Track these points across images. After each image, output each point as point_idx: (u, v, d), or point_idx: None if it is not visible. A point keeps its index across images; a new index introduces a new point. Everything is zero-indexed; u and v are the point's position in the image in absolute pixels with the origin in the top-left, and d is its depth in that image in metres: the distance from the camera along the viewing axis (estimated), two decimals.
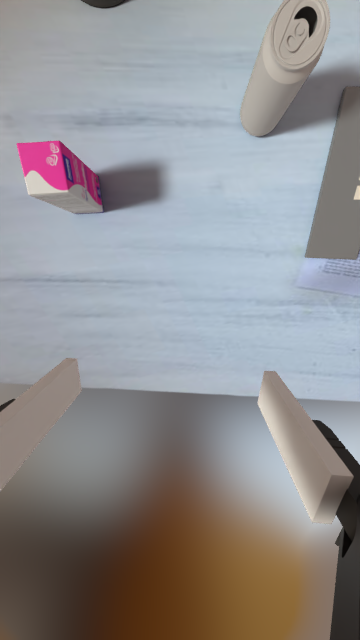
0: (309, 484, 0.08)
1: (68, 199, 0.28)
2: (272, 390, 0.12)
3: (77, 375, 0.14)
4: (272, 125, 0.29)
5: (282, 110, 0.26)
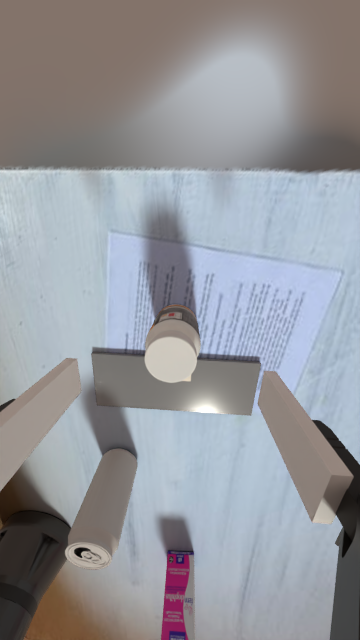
0: (309, 484, 0.08)
1: (194, 627, 0.34)
2: (272, 390, 0.12)
3: (77, 375, 0.14)
4: (132, 470, 0.31)
5: (125, 491, 0.28)
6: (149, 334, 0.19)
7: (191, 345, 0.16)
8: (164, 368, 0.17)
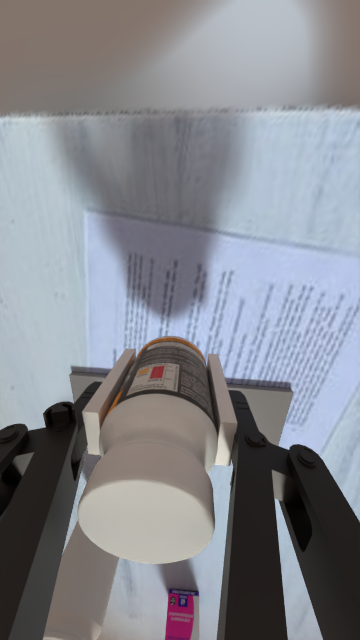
0: None
1: None
2: (209, 368, 0.14)
3: None
4: None
5: None
6: (105, 426, 0.08)
7: (201, 498, 0.06)
8: (130, 539, 0.07)
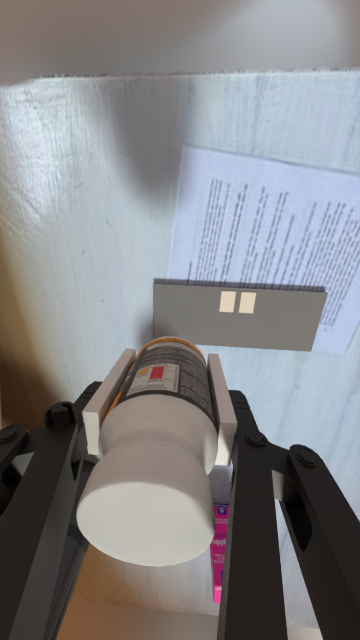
0: None
1: None
2: (209, 368, 0.14)
3: None
4: None
5: None
6: (104, 427, 0.08)
7: (201, 501, 0.06)
8: (129, 541, 0.07)
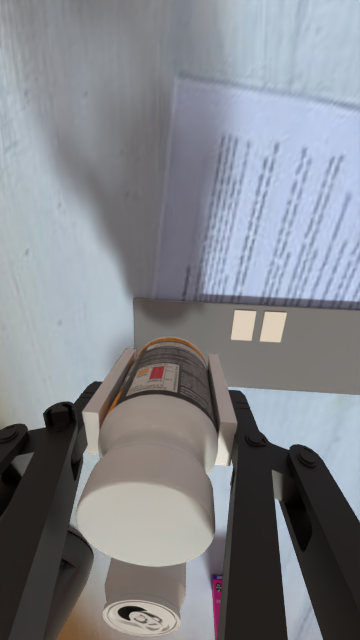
0: None
1: None
2: (209, 368, 0.14)
3: None
4: None
5: None
6: (104, 427, 0.08)
7: (201, 501, 0.06)
8: (129, 542, 0.07)
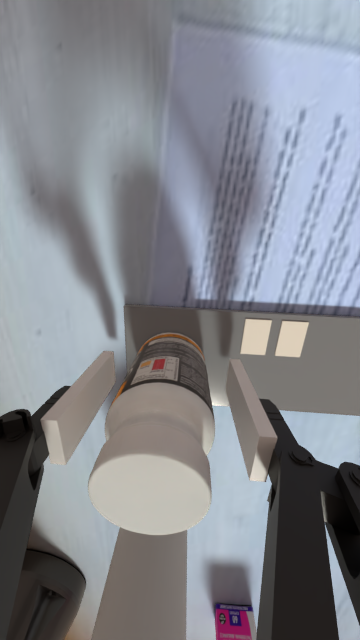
0: (249, 449, 0.09)
1: None
2: (233, 374, 0.13)
3: (113, 366, 0.15)
4: None
5: (182, 549, 0.16)
6: (110, 412, 0.09)
7: (199, 471, 0.07)
8: (135, 511, 0.07)
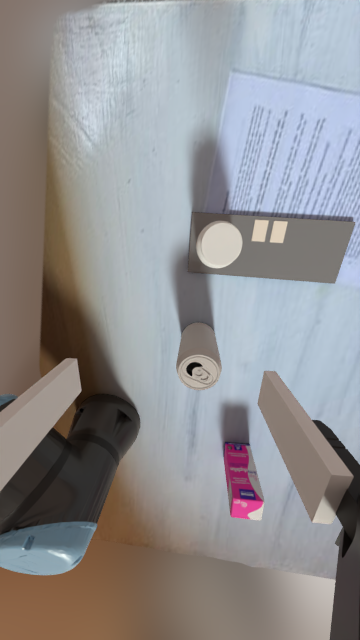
0: (309, 484, 0.08)
1: None
2: (272, 390, 0.12)
3: (77, 375, 0.14)
4: (215, 337, 0.34)
5: (216, 344, 0.31)
6: (201, 232, 0.24)
7: None
8: (215, 252, 0.22)
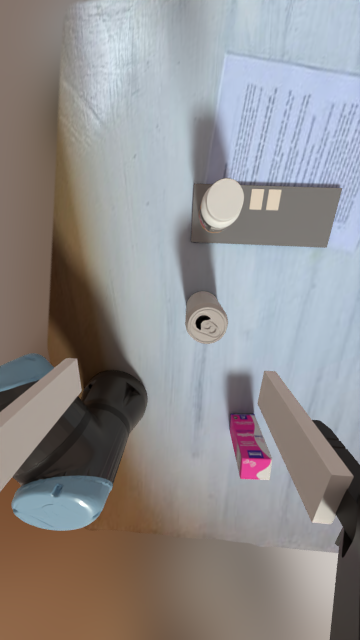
0: (309, 484, 0.08)
1: None
2: (272, 390, 0.12)
3: (77, 375, 0.14)
4: None
5: None
6: (205, 193, 0.26)
7: (240, 186, 0.24)
8: (220, 207, 0.24)
